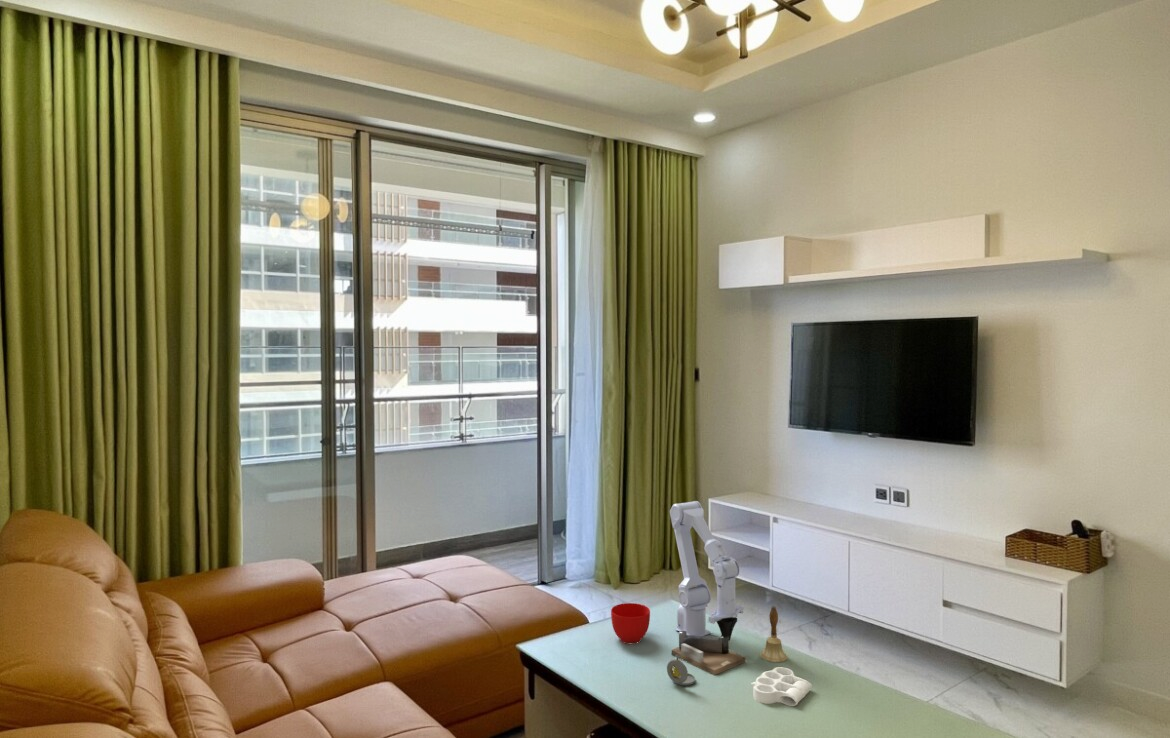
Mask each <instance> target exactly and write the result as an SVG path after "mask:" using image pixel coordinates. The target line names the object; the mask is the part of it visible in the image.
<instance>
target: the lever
mask: <svg viewBox="0 0 1170 738" xmlns="http://www.w3.org/2000/svg"><path fill="white" fill-rule="evenodd" d="M729 642H730V641H729V636H727V635H720V637H717V636H716V637H715V636H707V635H705V636H694V635H687V632H686V631H679V632H678V647H679V649H680V650H681V644H683V643H685V644H687V645H689V646H691V647H694V648H696V649H698V650H700V651H704V652H715V653H723V654H727V653H729V650H730V645H729V644H730V643H729Z"/></svg>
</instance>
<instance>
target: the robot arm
mask: <svg viewBox="0 0 1170 738" xmlns="http://www.w3.org/2000/svg"><path fill="white" fill-rule="evenodd" d="M669 516H670V521H671V526H672V529H673V531H674V534H675V535H674V536H675V540H676V541H675V542H676V546H677V550H678V555H679V561H680V566H681V570H682V574H683V580H682V581H681V582H680V583H679V585H678V600H679V605H678V608H677V611H676V612H677V615H676V617H677V618H676V619H677V620H676V622H677V623H676V624H677V625H676V627H677V628H675V631H676V630H677V631H676V632H678V631H686V632H687V635H694V636H707V635H710V634H712V631H710V630H709V629H706V628H707V627H706V625H707V624H706V619H707V616H706V614H707V613H706V612H707V611H706V608H708V604H709V603H710V602H711V599H712V594H711V590H710V589H709V587H708V583H707V580H705V579H704V578H702V577H701V576H700V572H699V568H698V564H697V563H698V562H697V560H696V559H697V558H696V554H695V550H694V549H695V548H694V544H693V538H692V533H691V529H692V528H693V529H694V530H695V532H696V533H697V535H698V536H699V538H700V539H701V540H702V542H703V543H704V548H703V550H704V551H705V553H706V555H707V557H708V558H709V560H710V562H711V564H712V565H713V568H712V571H713V575H714V579H715V584H716V591H717V592H716V595H717V596H716V609H717V610H715V611H714V612H712V613H711V615H710V614H709V615H708V623H710V624H713V625H714V624H716V623H717V626H718V628H719V631H720V634H721V635H727V636H729V642H730V641H731V639H732V634H733V631H734V627H735V626H736V624H737V623H738V617H739V616H738V614H744V606H742V605H736V578H737V577H738V576H739V574H740V566H739V563H738V561H737V560H736V559H735V558H733V557H732V556H731V555H728V552H726V549H725V548H724V546H723V544H722V543H721V541H720V540H719V539H715V538H714V535H713V534H712V532H711V530H710V527H709V526H708V524H707V522H706V520H705V517H704V516H705V510H704V508H703V507H702V504H701V502H700V501H697V500H693V501H689V502H681V503H674V504H672V506H671V508H670V510H669ZM721 635H720V636H721Z"/></svg>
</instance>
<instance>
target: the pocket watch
mask: <svg viewBox="0 0 1170 738" xmlns="http://www.w3.org/2000/svg"><path fill="white" fill-rule="evenodd" d="M674 653H675V652H673V654H674ZM676 653H678V652H676ZM678 654H679V653H678ZM678 654H677V655H675V654H674V655H675V656H674V655H673V656H674V657H675V658H673V659H671V660H669V661H668V663H667V665H666V672H667V675H668V677H669V679H671V681H672V682H674V684H677V685H680V686H690V685H692V684H694V683H695V681H696V677H695V675H693V674H692V673H688V672H689V671H688V669H687V666H686V665H685V664H684V663H683V661H681V660H680V658H679V657H681V655H680V654H679V655H680V656H678Z"/></svg>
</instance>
